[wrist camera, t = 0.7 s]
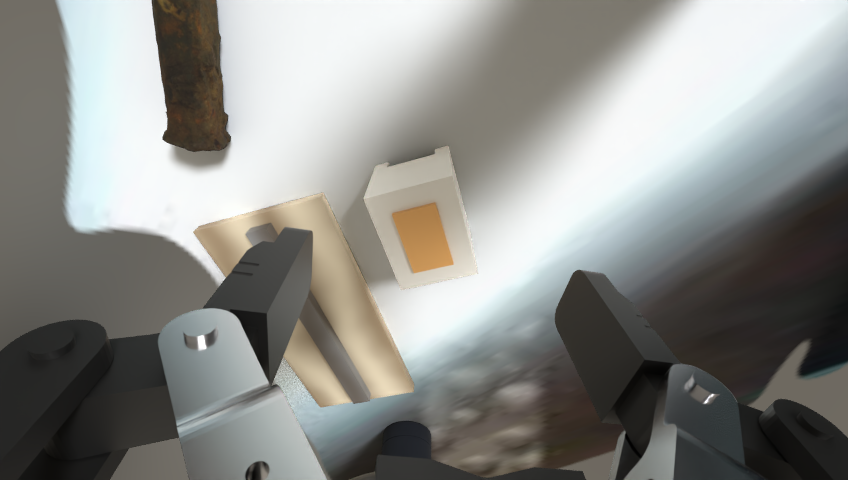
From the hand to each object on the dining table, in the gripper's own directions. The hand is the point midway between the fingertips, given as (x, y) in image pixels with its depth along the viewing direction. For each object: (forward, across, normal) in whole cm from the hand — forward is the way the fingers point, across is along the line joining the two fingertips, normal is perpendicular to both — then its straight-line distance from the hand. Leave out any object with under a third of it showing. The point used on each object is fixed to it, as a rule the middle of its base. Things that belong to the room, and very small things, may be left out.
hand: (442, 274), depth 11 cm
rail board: (+20, +7, +21) cm, 30 cm away
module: (+19, -1, +6) cm, 20 cm away
